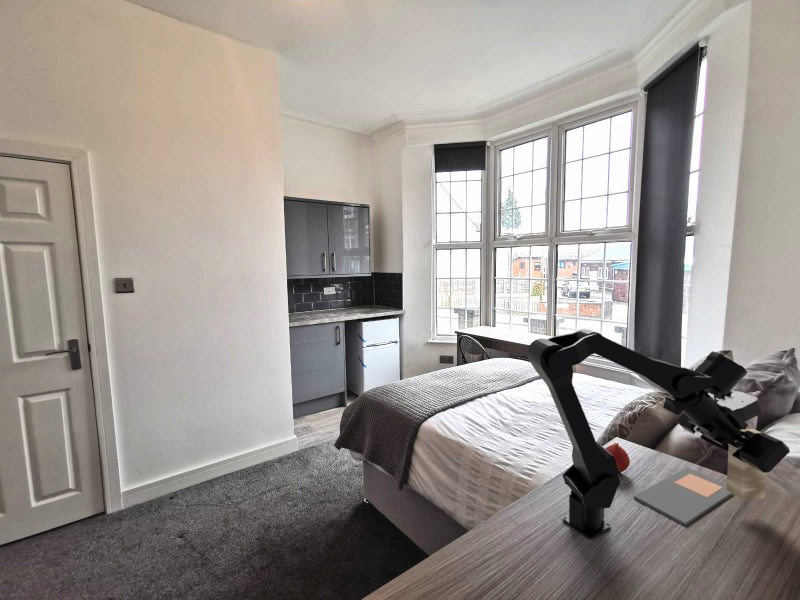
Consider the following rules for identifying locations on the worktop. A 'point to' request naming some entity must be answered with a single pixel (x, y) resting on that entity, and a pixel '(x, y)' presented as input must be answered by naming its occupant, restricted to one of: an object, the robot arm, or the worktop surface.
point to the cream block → (745, 477)
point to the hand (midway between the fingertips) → (753, 460)
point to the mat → (684, 495)
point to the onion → (619, 456)
